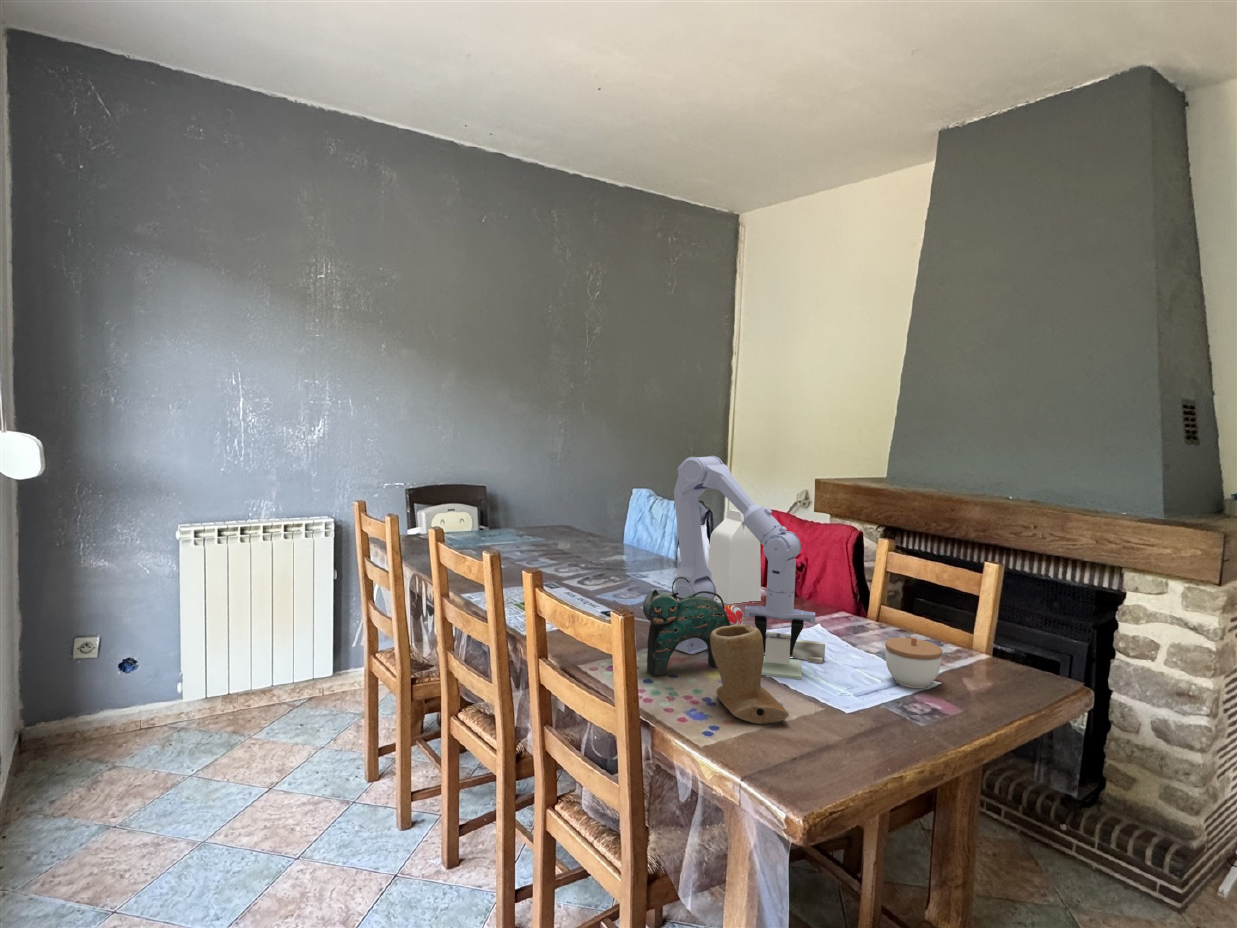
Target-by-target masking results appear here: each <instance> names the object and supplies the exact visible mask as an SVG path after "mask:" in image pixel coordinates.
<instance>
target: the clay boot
mask: <svg viewBox="0 0 1237 928" xmlns="http://www.w3.org/2000/svg"><path fill="white" fill-rule="evenodd" d="M710 643H711V650H712V655H713V658H714V660H715V663H716V665H717V668H716V669H717V670H718V673H719V676H720V680H721V684H722V685H720V686H719V687H718V688H717V689H716V695H717V698H718V700H719V701H720V702H721V703H722V704H723V706H724V707H725V708H726V709H727V710H729V712H730V713H731V715H733V716H734V717H736V718H739V719H740V720H743V721H745V722H749V723H753V724H759V725H760V724H763V725H764V724H765V725H766V724H773V723H776V722H780V721H782V720H783V721H784V720H786V719H787V718H788V717H789V715H790V714H789V712H788V711H787V710H786V708H784V706H783V705H782V704H781V703H780V702H779V701H778V700H777V699H776V698H775V697H774V696H773V695H772V694H771V693H770V692H769V691H768V690H767V689H765V687H762V686H761V684H762V683H761V680H762V679H761V678H762V675H761V672H762V667H763V661H764V647H763V638H762V634H761V632H760V631H759V629H758V628H757V627H753V626H752V625H749V624H744V625H731V626H723V627H720V628H717V629H715V630H713V631H712V633H711V635H710Z"/></svg>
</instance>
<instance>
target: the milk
mask: <svg viewBox="0 0 1237 928" xmlns="http://www.w3.org/2000/svg"><path fill="white" fill-rule="evenodd" d="M761 558H762V557H761V543H760V542H759V540H758V539H757V538H756V537H755V536H754V535H753V533H752V532H751V531H750V530H749V529H748V528H747V527H746V525H745V524H744V515H743V514H742V513H741V512H740V511H739V510H738V509H737V510H736V509H732V508H731V509H727V513H726V516H725V518H724V519H723V520H722V521H721V522H720V523H719V524H718V525H717V526H716V527H715V528H714V529H713V530H712V532H711V534H710V538H709V550H708V559H707V568H708V569H709V570H710V571H711V576H712V580H713V582H714V583H715V586H716V590H717V592H716V593H717V594H718V595H719V596H720V597H721V598H722V600H723V602H724V603H726V604H733V603H742V602H749V601H761V602H762V600H761V599H762V593H761V592H762V591H761V590H762V589H761V588H762V583H761V582H762V581H761V580H762V579H761V568H762V567H761V563H762V562H761V561H762V560H761ZM715 599H717V600H719V601H718V602H720V601H721V600H720V599H719V598H718V597H717V596H716V597H715ZM715 599H714V600H715ZM717 600H716V601H717ZM726 604H725V605H726Z"/></svg>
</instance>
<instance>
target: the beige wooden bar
mask: <svg viewBox="0 0 1237 928" xmlns="http://www.w3.org/2000/svg"><path fill="white" fill-rule="evenodd" d="M764 655H765V653H764ZM825 656H826V642H825V641H815V640H807V639H806V640H804V639H797V640H796V643H795V646H794V649H793V654H792V656H790V657H793V658H799V659H804V660H803V661H807V663H809V662H817V663H816V664H819V663H822V664H823V663H825V658H826V657H825ZM799 659H798V660H799Z"/></svg>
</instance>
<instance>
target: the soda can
mask: <svg viewBox="0 0 1237 928" xmlns="http://www.w3.org/2000/svg"><path fill="white" fill-rule="evenodd" d="M724 607H725V608H724V610H725V612H726V614H727V617H728V620H729V622H730V626H731V625H746V624H745V622H746V619H745V618H746V617H744V615H745V613H744V612H743V611H742V610H741V608H740V607H738V606H737V605H735V604H734V605H726V604H725V605H724Z"/></svg>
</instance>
